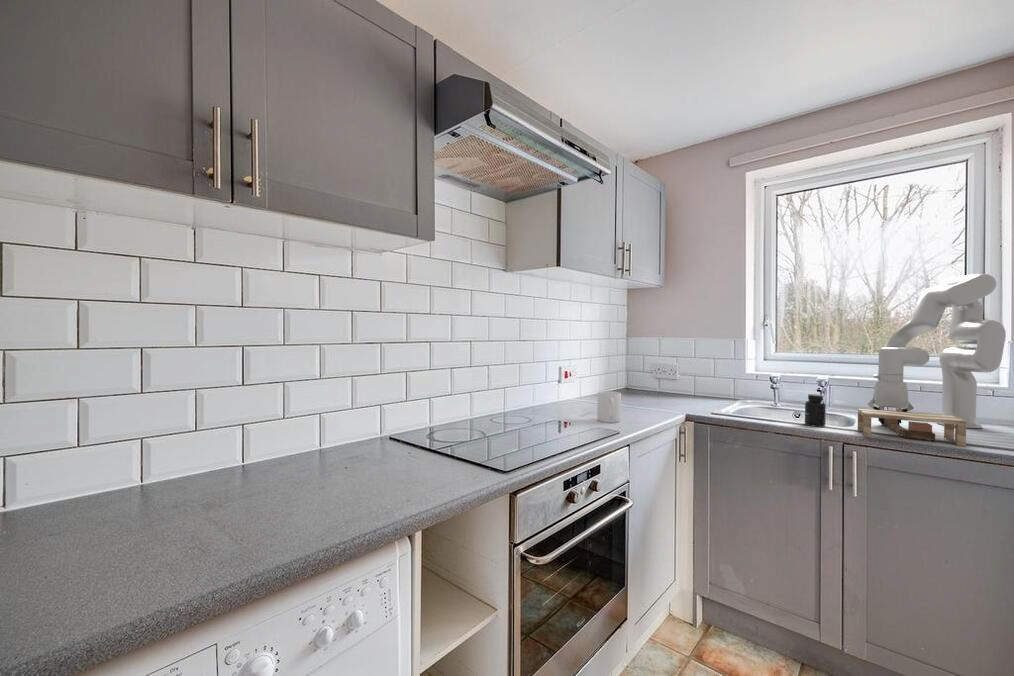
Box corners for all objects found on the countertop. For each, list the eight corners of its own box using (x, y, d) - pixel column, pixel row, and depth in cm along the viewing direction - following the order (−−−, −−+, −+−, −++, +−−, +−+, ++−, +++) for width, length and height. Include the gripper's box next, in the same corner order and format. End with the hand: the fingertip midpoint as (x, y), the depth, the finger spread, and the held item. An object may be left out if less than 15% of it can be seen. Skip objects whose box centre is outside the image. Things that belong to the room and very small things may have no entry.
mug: (614, 418, 185) (614, 390, 185) (628, 424, 173) (628, 394, 173) (593, 419, 183) (593, 391, 182) (606, 425, 171) (606, 395, 171)
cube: (908, 435, 157) (908, 421, 157) (926, 436, 155) (927, 422, 155) (912, 437, 153) (912, 423, 153) (931, 439, 150) (932, 425, 150)
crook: (881, 424, 176) (882, 409, 175) (911, 427, 171) (911, 411, 171) (900, 437, 153) (900, 420, 153) (935, 440, 148) (935, 423, 148)
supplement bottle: (800, 423, 176) (801, 394, 176) (811, 422, 179) (811, 393, 179) (818, 427, 170) (819, 396, 169) (829, 425, 172) (829, 395, 172)
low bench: (857, 430, 165) (857, 408, 165) (951, 438, 152) (952, 415, 152) (863, 436, 155) (864, 413, 154) (965, 446, 141) (966, 421, 141)
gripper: (865, 377, 174) (864, 423, 174) (921, 380, 165) (920, 428, 165) (861, 376, 180) (860, 420, 180) (915, 378, 172) (914, 425, 172)
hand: (889, 423), depth 173 cm, fingers closed on crook, 4 cm apart
